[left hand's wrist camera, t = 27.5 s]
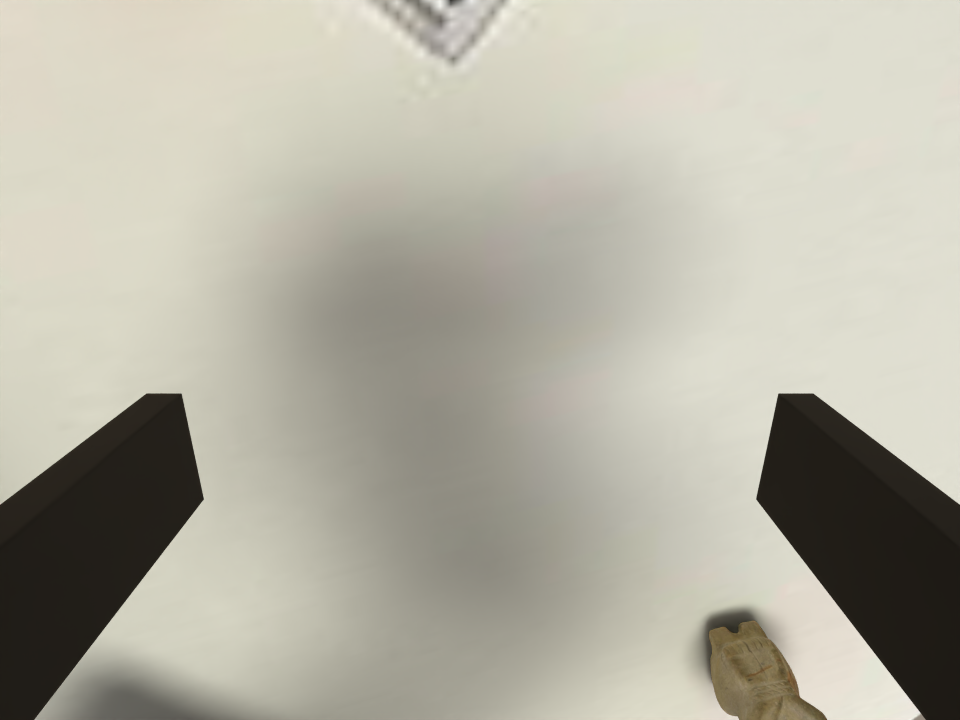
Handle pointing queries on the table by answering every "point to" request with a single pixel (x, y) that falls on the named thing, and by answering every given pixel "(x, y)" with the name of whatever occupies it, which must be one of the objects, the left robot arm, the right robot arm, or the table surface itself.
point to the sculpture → (755, 677)
